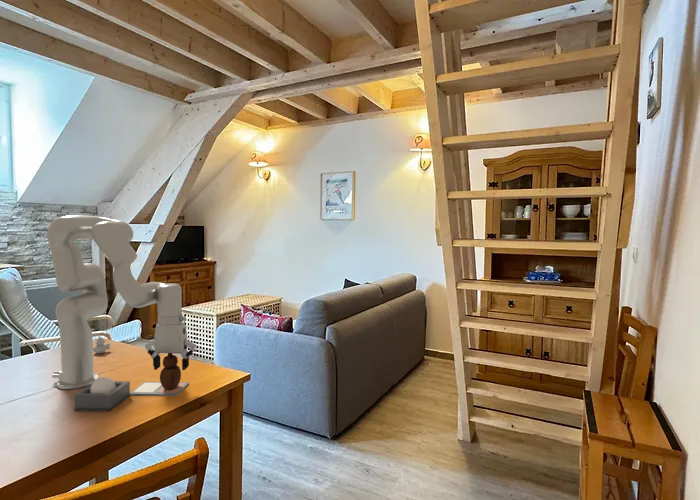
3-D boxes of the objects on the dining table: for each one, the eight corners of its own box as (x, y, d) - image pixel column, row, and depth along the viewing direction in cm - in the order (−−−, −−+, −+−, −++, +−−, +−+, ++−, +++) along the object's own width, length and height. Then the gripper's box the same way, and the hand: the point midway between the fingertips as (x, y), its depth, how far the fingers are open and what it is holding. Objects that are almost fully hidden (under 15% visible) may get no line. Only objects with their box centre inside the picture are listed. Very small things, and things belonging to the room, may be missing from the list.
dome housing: (74, 410, 125) (74, 395, 125) (97, 395, 136) (96, 381, 136) (110, 411, 125) (109, 395, 124) (130, 396, 136) (129, 381, 135)
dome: (85, 404, 127) (84, 382, 126) (99, 394, 134) (98, 373, 133) (107, 404, 127) (106, 382, 126) (120, 394, 134) (119, 374, 133)
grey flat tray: (129, 395, 136) (129, 393, 136) (144, 383, 146) (144, 381, 146) (176, 395, 136) (176, 393, 136) (189, 384, 146) (188, 382, 146)
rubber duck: (92, 352, 179) (91, 335, 179) (109, 349, 184) (108, 332, 183) (94, 355, 175) (93, 337, 175) (111, 352, 180) (111, 335, 179)
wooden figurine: (172, 392, 137) (171, 349, 136) (157, 390, 138) (156, 347, 137) (184, 384, 144) (183, 342, 143) (169, 383, 145) (168, 341, 144)
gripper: (199, 317, 143) (200, 365, 144) (150, 317, 143) (151, 364, 144) (190, 322, 136) (191, 372, 137) (139, 322, 136) (140, 372, 137)
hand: (171, 368), depth 141 cm, fingers open, 9 cm apart
